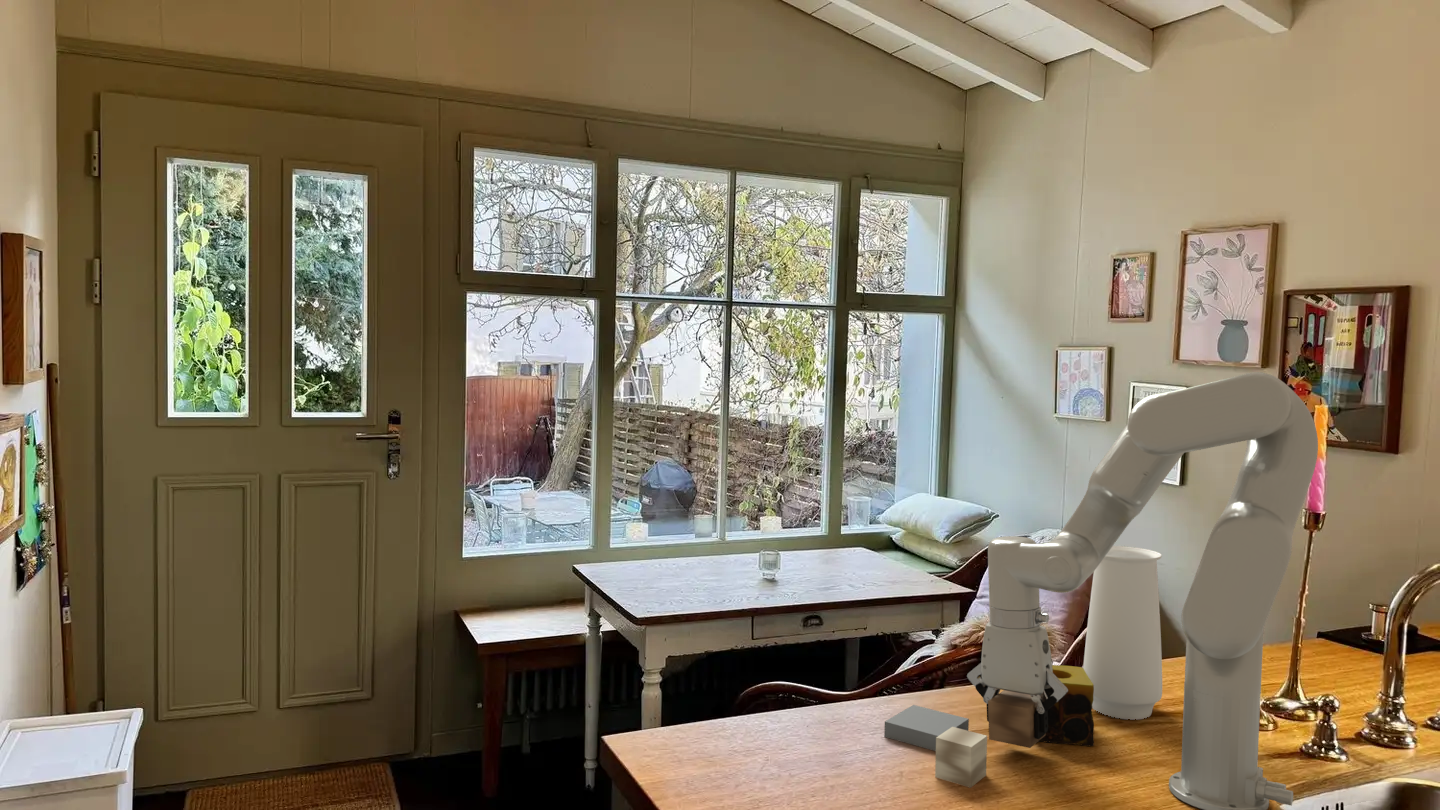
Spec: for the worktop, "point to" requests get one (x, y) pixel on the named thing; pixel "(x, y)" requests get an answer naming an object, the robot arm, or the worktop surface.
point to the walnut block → (1012, 719)
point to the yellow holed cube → (1071, 709)
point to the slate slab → (922, 726)
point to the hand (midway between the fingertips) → (1017, 730)
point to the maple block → (961, 756)
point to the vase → (1125, 634)
